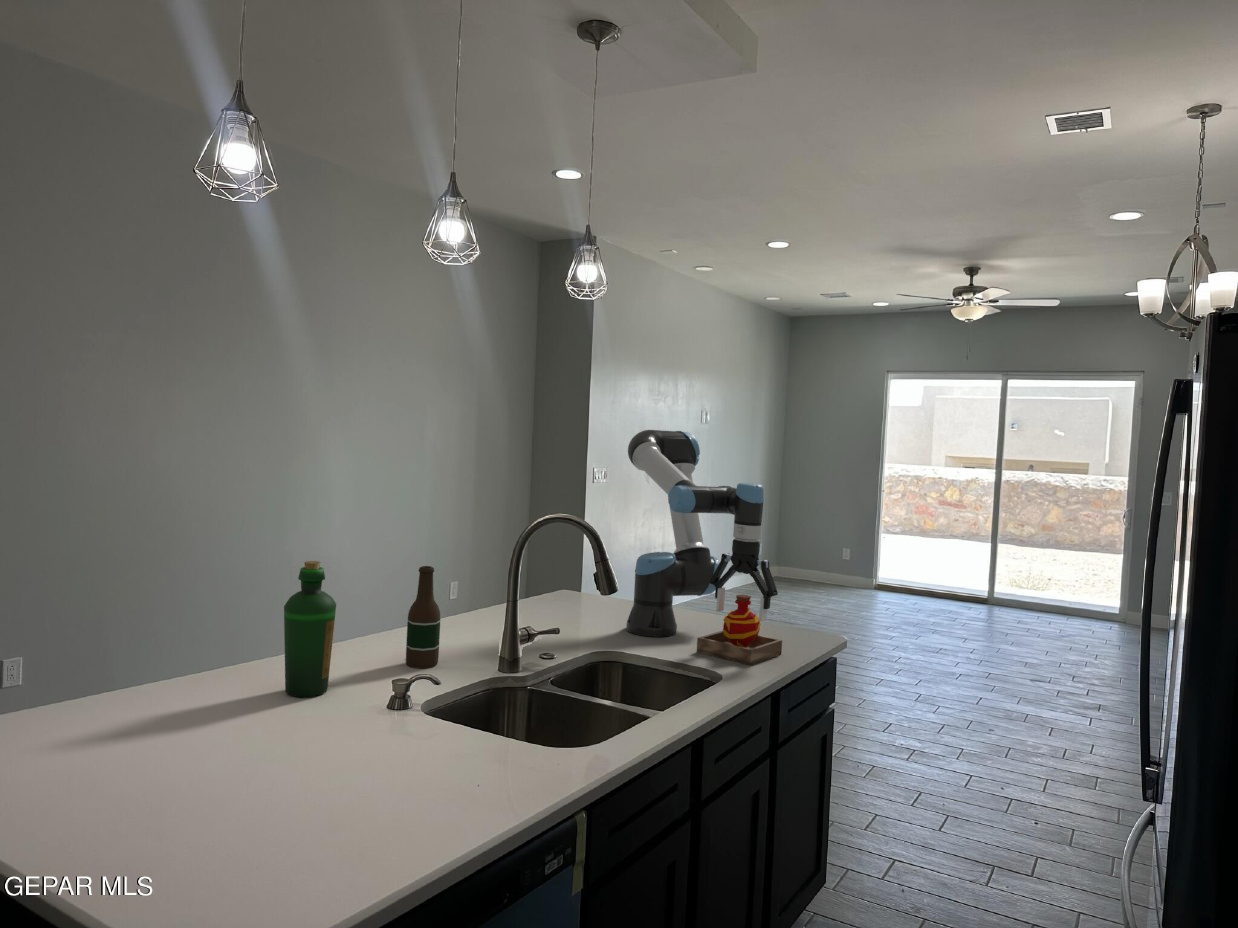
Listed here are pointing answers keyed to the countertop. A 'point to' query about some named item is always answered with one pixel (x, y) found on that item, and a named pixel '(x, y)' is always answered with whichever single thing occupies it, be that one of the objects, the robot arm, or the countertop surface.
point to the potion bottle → (741, 623)
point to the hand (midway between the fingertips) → (740, 615)
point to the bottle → (308, 634)
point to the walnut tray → (739, 648)
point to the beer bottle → (423, 625)
